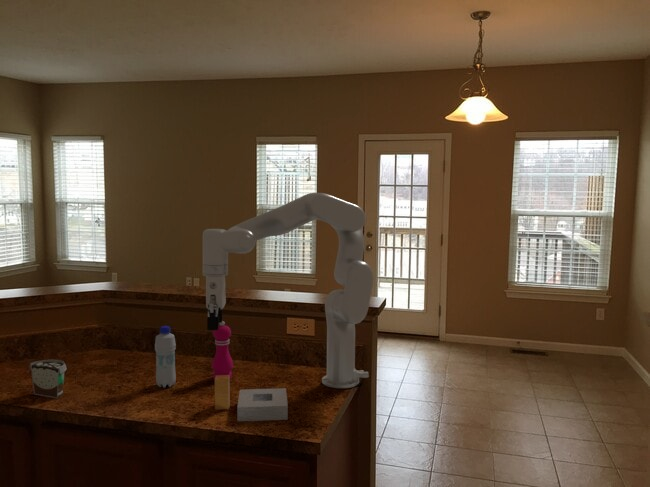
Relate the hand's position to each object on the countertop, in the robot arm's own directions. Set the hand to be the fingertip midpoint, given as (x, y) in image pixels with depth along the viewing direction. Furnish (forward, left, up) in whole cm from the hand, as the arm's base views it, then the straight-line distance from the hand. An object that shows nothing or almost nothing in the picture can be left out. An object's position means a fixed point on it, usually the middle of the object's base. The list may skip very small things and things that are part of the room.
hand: (215, 326), depth 165 cm
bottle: (+18, -15, -24) cm, 33 cm away
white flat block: (-14, +9, -23) cm, 29 cm away
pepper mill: (0, -21, -24) cm, 32 cm away
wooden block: (-2, +5, -23) cm, 24 cm away
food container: (+52, -11, -24) cm, 58 cm away
